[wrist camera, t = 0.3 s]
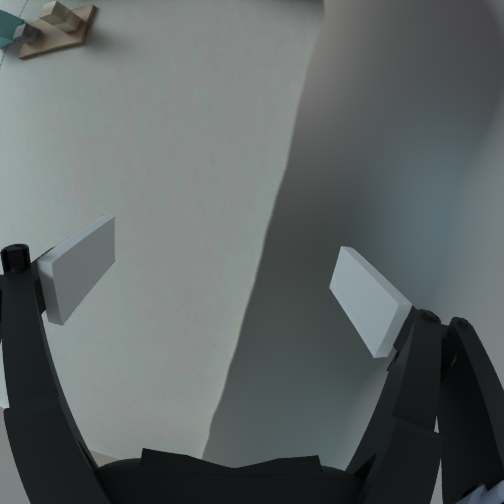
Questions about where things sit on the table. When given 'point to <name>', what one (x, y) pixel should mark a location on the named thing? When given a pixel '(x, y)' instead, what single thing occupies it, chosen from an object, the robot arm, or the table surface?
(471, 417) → the robot arm
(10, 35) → the teal rectangular block
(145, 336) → the table surface
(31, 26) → the stand
